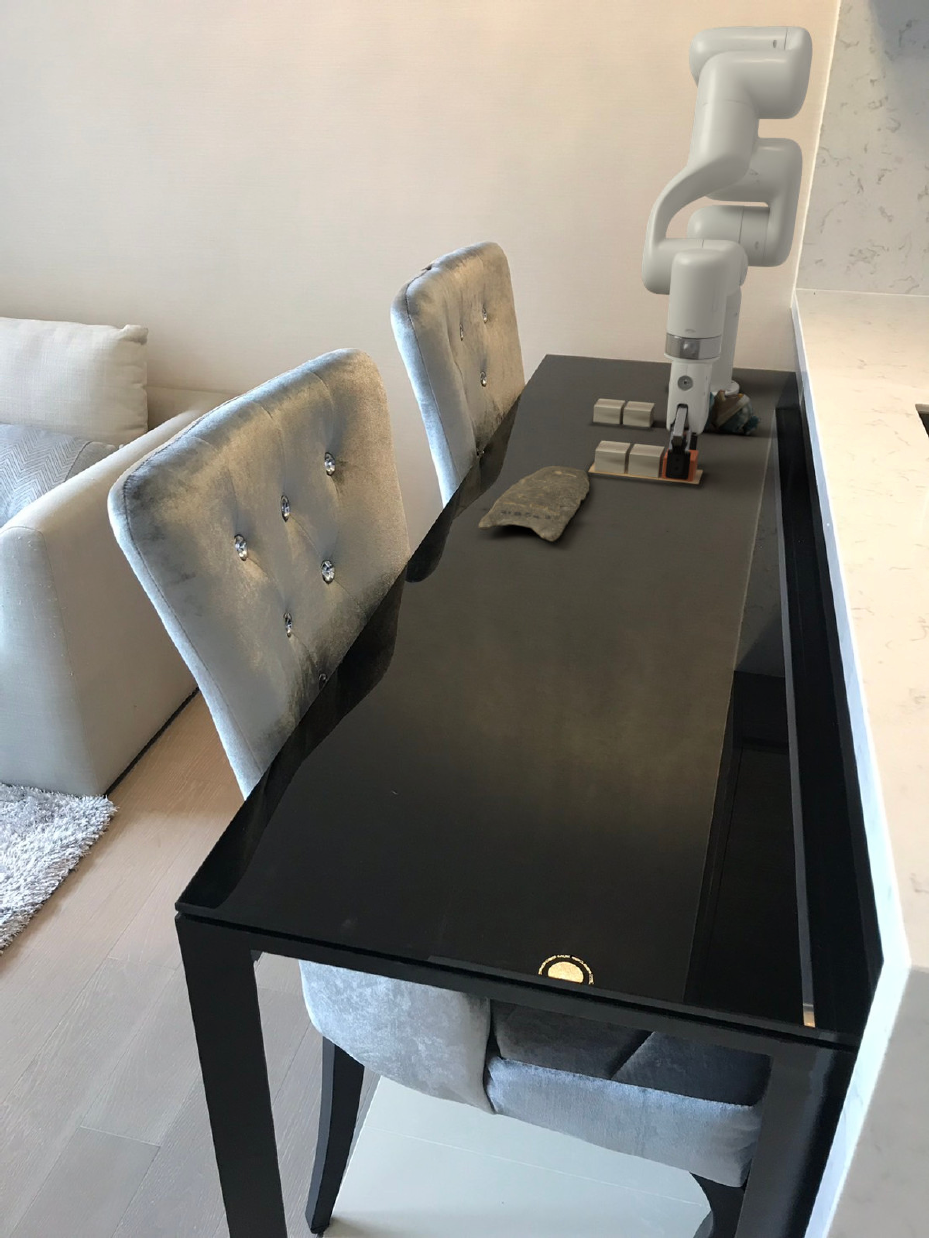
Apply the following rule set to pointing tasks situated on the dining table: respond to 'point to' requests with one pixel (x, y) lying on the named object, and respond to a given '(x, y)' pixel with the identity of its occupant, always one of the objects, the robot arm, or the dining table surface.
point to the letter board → (695, 480)
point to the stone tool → (540, 501)
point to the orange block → (691, 469)
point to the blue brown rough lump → (731, 413)
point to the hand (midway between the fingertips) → (680, 468)
